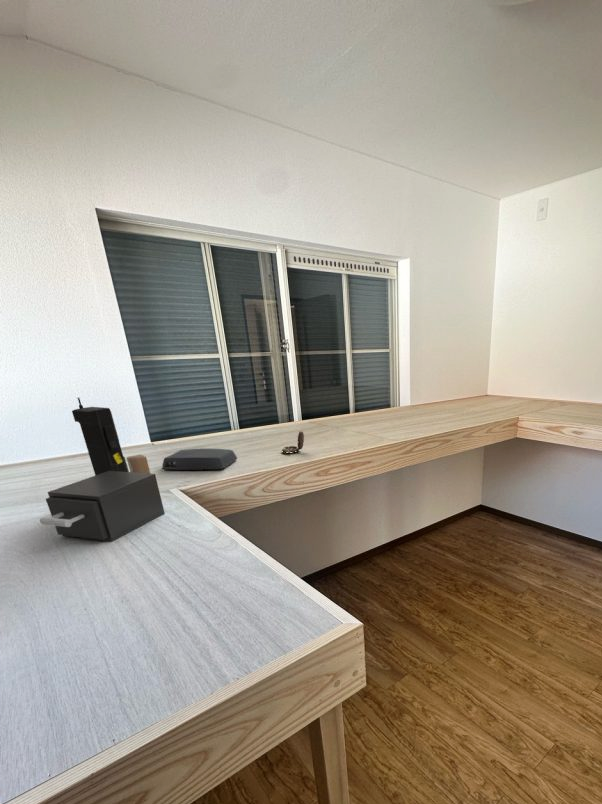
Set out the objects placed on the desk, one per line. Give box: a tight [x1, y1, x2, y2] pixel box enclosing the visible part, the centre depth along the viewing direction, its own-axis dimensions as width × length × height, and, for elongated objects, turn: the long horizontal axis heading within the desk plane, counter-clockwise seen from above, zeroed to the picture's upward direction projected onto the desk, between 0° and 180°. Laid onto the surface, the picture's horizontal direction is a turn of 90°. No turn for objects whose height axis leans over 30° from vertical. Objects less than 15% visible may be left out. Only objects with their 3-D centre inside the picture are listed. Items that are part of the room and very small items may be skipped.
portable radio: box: [71, 397, 130, 476], centre depth 100 cm, size 8×6×25 cm
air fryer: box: [47, 471, 166, 542], centre depth 89 cm, size 15×13×10 cm
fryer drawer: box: [39, 496, 108, 541], centre depth 85 cm, size 18×11×8 cm, turn 166°
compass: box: [281, 430, 305, 453], centre depth 144 cm, size 8×8×7 cm
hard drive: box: [161, 447, 238, 471], centre depth 132 cm, size 13×19×4 cm
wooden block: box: [126, 454, 151, 474], centre depth 114 cm, size 4×4×8 cm
